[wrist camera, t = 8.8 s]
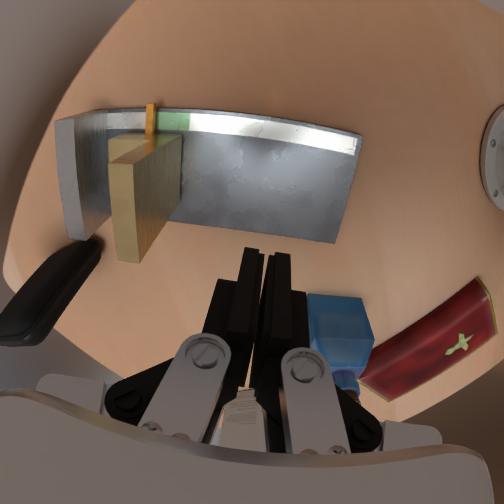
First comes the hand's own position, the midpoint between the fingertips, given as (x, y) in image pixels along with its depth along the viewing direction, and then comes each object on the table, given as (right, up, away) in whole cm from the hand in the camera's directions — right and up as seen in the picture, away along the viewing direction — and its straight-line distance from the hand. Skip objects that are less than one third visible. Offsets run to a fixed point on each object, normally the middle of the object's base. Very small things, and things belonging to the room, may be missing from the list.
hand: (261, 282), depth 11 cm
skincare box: (0, -24, +33) cm, 40 cm away
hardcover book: (+25, -11, +24) cm, 36 cm away
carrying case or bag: (-21, +1, +18) cm, 28 cm away
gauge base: (-4, +8, +12) cm, 15 cm away
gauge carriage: (-8, +9, +10) cm, 16 cm away
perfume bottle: (+8, -6, +21) cm, 23 cm away
